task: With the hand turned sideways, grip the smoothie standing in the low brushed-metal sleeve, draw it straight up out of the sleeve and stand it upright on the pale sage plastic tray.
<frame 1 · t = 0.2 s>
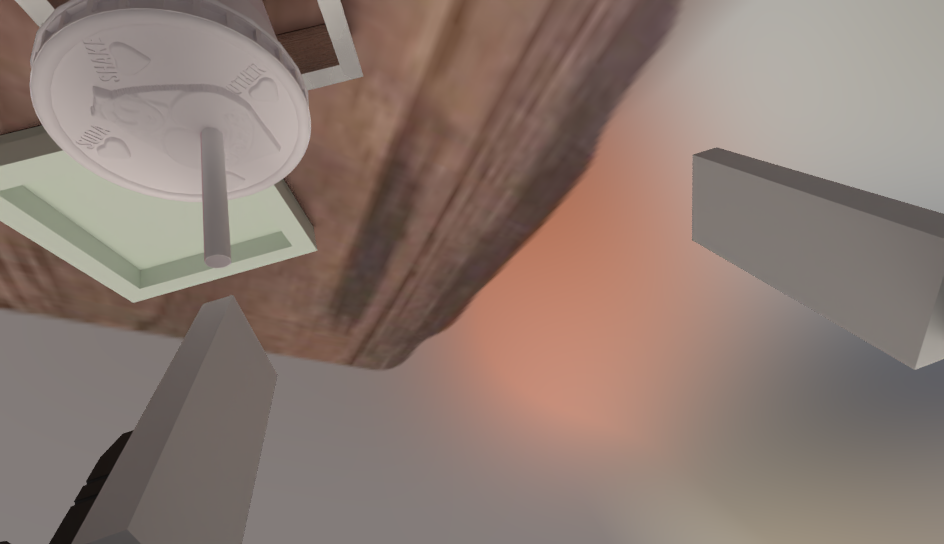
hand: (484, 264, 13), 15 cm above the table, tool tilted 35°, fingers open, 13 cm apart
tray: (170, 196, 26), on the table
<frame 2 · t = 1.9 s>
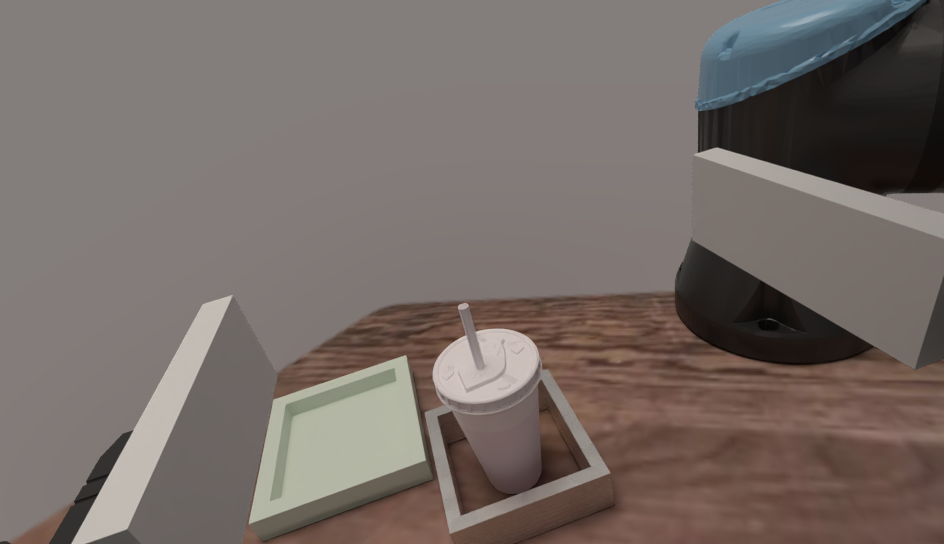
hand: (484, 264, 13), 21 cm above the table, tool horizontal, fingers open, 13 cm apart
tray: (349, 443, 37), on the table
smoothie: (515, 470, 32), resting in sleeve
sleeve: (514, 468, 32), on the table
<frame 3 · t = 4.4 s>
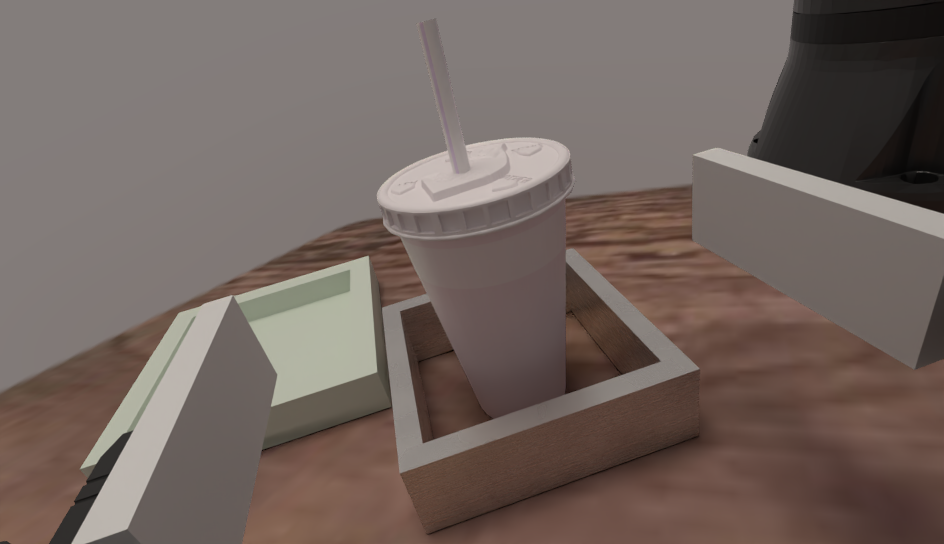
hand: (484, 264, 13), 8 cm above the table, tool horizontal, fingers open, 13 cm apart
tray: (275, 366, 25), on the table
smoothie: (522, 392, 20), resting in sleeve
sleeve: (521, 388, 20), on the table
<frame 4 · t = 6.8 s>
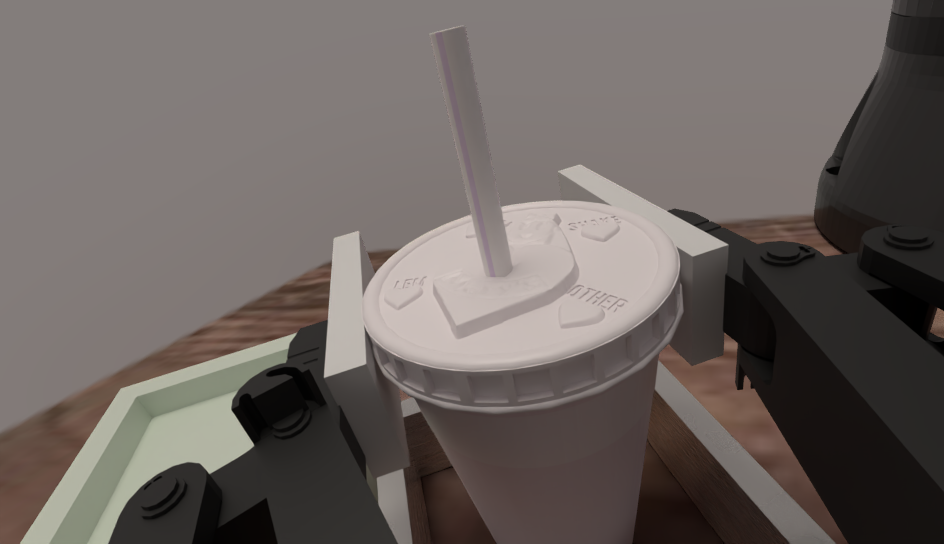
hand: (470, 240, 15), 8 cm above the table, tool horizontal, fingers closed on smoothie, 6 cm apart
tray: (235, 470, 20), on the table
smoothie: (567, 543, 14), resting in sleeve, touching gripper
sleeve: (566, 539, 14), on the table
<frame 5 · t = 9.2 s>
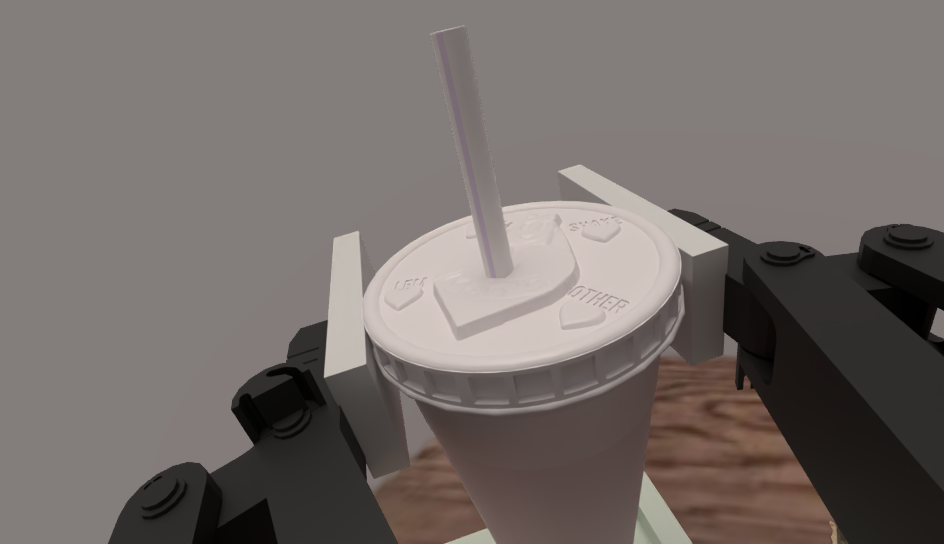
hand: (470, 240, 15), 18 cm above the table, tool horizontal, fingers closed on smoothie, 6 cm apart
when the fingers open (10 cm above the table, at t = 11.9 s): smoothie drops 1 cm, resting on tray.
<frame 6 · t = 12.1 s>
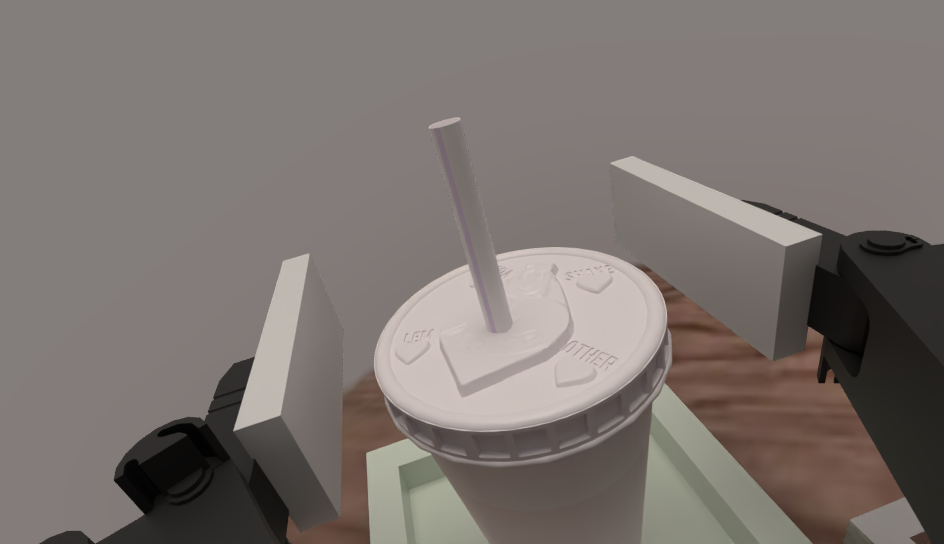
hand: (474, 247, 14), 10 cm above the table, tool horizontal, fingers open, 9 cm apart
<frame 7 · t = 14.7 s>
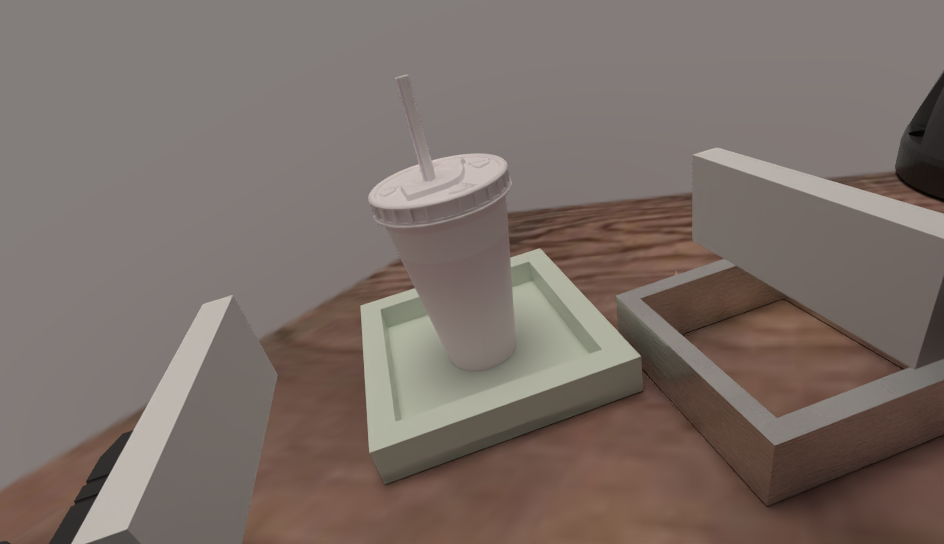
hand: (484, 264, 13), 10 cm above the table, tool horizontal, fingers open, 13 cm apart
tray: (482, 355, 26), on the table
smoothie: (482, 350, 25), resting on tray
sleeve: (777, 371, 20), on the table
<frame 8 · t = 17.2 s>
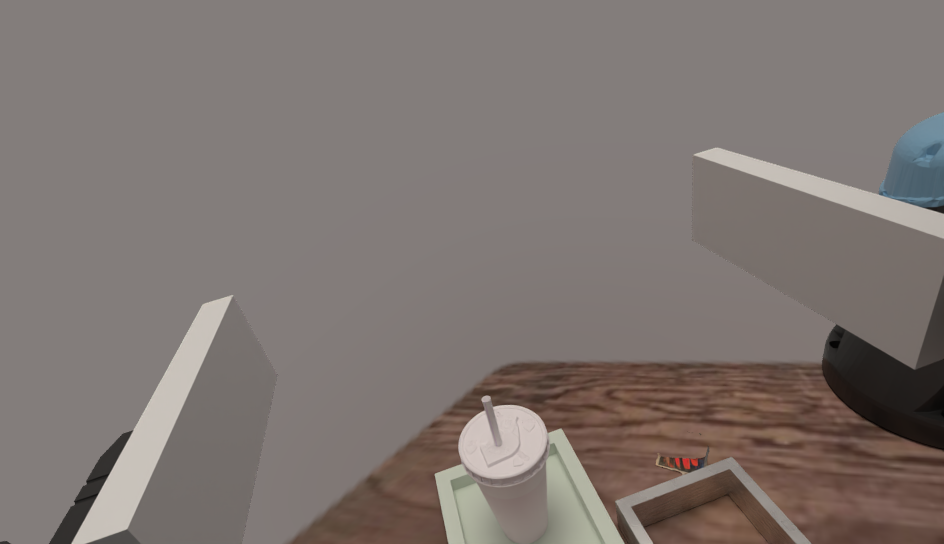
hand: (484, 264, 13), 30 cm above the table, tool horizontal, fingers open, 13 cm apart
tray: (524, 524, 38), on the table
smoothie: (525, 522, 37), resting on tray
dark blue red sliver: (679, 455, 41), on the table
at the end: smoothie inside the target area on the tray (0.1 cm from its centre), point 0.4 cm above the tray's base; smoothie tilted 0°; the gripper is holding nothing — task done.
